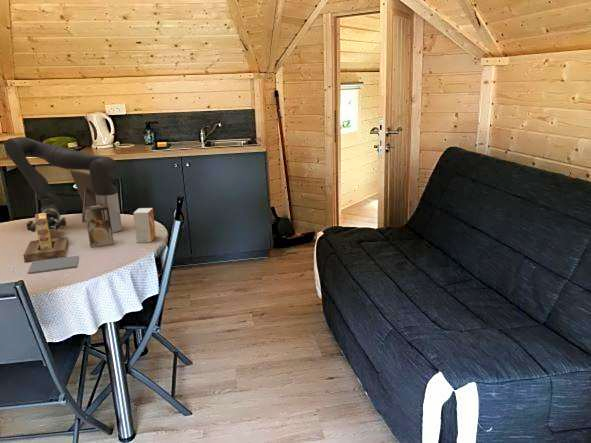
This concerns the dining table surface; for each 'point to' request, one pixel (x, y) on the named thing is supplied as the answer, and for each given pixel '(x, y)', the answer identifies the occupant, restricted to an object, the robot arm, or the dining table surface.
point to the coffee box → (98, 225)
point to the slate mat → (53, 264)
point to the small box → (144, 224)
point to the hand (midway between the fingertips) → (44, 228)
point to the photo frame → (84, 188)
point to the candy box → (43, 231)
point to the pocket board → (46, 250)
